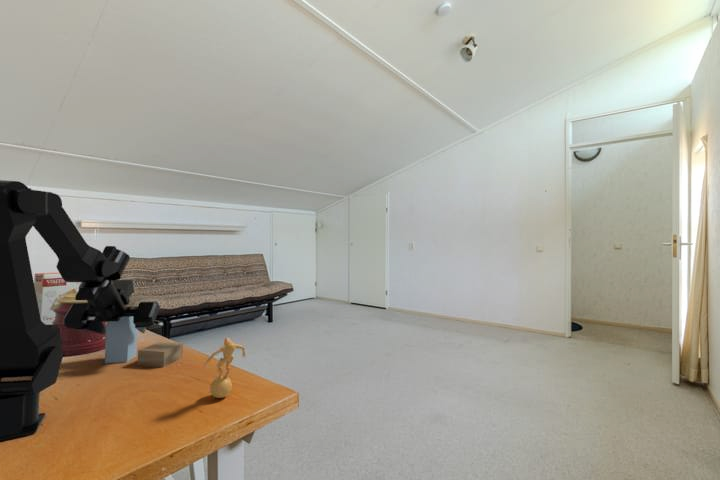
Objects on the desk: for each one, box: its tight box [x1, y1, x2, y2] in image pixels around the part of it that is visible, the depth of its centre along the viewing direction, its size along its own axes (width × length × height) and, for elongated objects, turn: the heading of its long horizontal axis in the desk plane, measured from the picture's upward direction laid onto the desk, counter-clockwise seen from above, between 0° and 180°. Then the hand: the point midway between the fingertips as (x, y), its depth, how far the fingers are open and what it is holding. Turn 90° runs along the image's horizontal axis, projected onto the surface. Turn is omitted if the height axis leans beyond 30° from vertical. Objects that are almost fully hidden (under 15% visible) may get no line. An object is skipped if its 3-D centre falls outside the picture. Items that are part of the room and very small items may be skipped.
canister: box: [52, 294, 107, 356], centre depth 91 cm, size 13×13×18 cm
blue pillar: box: [104, 316, 139, 364], centre depth 83 cm, size 5×5×12 cm
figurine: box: [203, 337, 246, 399], centre depth 63 cm, size 8×6×12 cm
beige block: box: [137, 341, 184, 368], centre depth 82 cm, size 7×7×4 cm
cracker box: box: [33, 272, 81, 325], centre depth 100 cm, size 14×6×21 cm, turn 155°
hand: (124, 332), depth 85 cm, fingers open, 9 cm apart
